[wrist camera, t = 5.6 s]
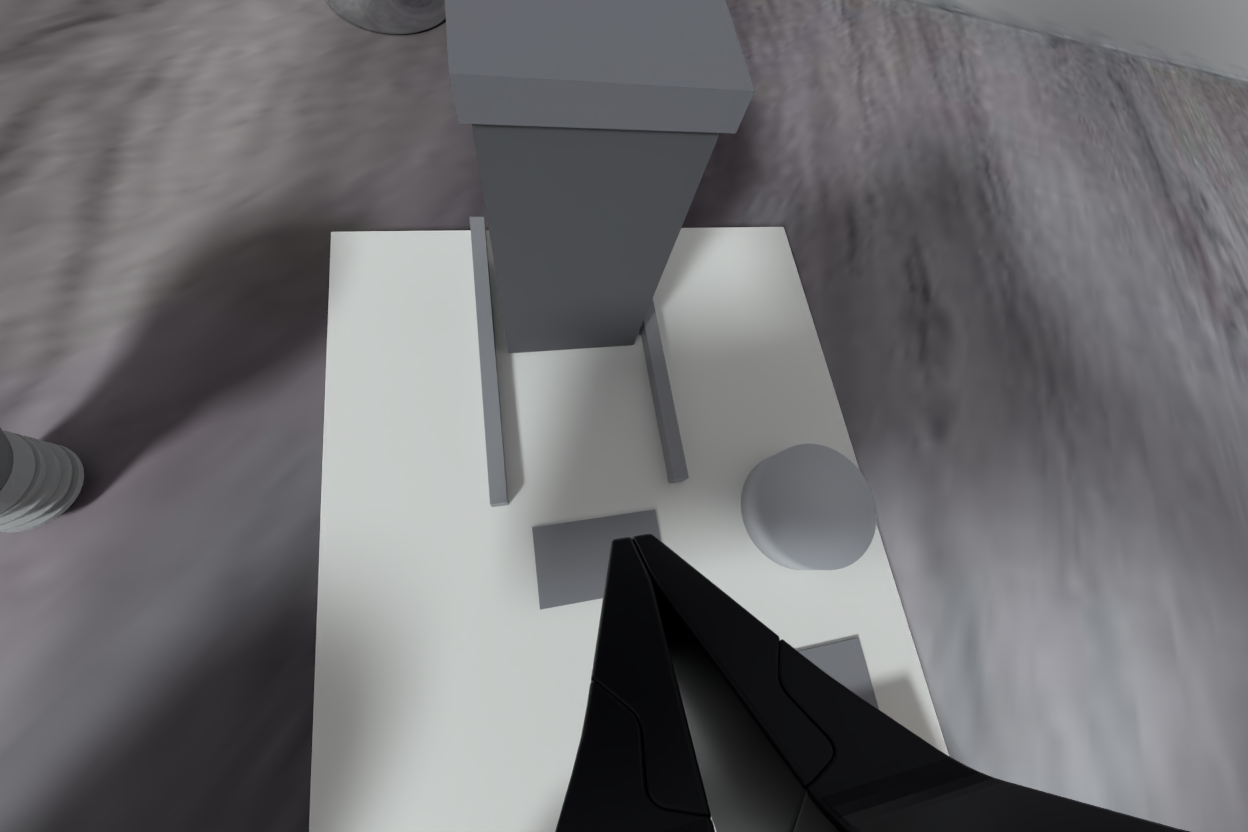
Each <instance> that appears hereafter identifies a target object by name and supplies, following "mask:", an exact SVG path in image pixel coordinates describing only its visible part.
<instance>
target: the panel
mask: <svg viewBox="0 0 1248 832" xmlns="http://www.w3.org/2000/svg"><path fill="white" fill-rule="evenodd" d="M470 228H471V230H452V231H361V232H331V248H330V275H329V302H328V329H327V356H326V384H325V411H324V438H323V465H322V492H321V519H320V546H319V573H318V600H317V627H316V654H315V681H314V708H313V735H312V762H311V789H310V816H309V832H555V830H556V827H557V823H558V820H559V816H560V813H561V809H562V806H563V802H564V799H565V795H566V792H567V788H568V784H569V781H570V777H571V774H572V770H573V766H574V762H575V758H576V754H577V750H578V746H579V742H580V739H581V734H582V728H583V723H584V718H585V712H586V707H587V701H588V694H589V687H590V683H591V675H592V669H593V662H594V655H595V648H596V642H597V635H598V628H599V621H600V615H601V608H602V601H603V594H604V588H605V581H606V574H607V568H608V561H609V554H610V547H611V542H612V540H613V539H617V538H624V537H630V538H633V537H634V536H636V535H643V534H652V535H654V536H655V537H656V538H658V539H659V540H660V541H661V542H663V543H664V544H665V545H666V546H668V547H669V548H670V549H671V550H673V551H674V552H675V553H676V554H678V555H679V556H680V557H681V558H682V559H684V560H685V561H686V562H687V563H689V564H690V565H691V566H692V567H694V568H695V569H696V570H697V571H699V572H700V573H701V574H702V575H704V576H705V577H706V578H707V579H709V580H710V581H711V582H712V583H714V584H715V585H716V586H717V587H718V588H720V589H721V590H722V591H723V592H725V593H726V594H727V595H728V596H730V597H731V598H732V599H733V600H735V601H736V602H737V603H738V604H740V605H741V606H742V607H743V608H745V609H746V610H747V611H748V612H749V613H751V614H752V615H753V616H754V617H756V618H757V619H758V620H759V621H761V622H762V623H763V624H764V625H766V626H767V627H768V628H769V629H771V630H772V631H773V632H774V633H776V634H777V635H778V636H779V638H780V640H781V639H783V640H784V641H786V642H787V643H788V644H789V645H791V646H792V647H793V648H794V649H796V650H797V651H798V652H799V653H801V654H802V655H803V656H805V657H806V658H807V659H808V660H810V661H811V662H812V663H814V664H815V665H816V666H818V667H819V668H820V669H821V670H823V671H824V672H825V673H827V674H828V675H830V676H831V677H832V678H834V679H835V680H837V681H838V682H839V683H841V684H842V685H844V686H845V687H847V688H848V689H849V690H851V691H852V692H854V693H855V694H857V695H858V696H859V697H861V698H862V699H864V700H865V701H867V702H868V703H870V704H871V705H873V706H874V707H876V708H877V709H879V710H880V711H882V712H883V713H885V714H886V715H888V716H889V717H891V718H892V719H894V720H895V721H897V722H898V723H899V724H901V725H902V726H904V727H905V728H907V729H908V730H910V731H911V732H913V733H914V734H916V735H917V736H919V737H920V738H922V739H923V740H925V741H926V742H928V743H929V744H931V745H932V746H934V747H935V748H937V749H938V750H940V751H941V752H943V753H945V754H946V755H948V756H949V754H948V751H947V748H946V744H945V741H944V738H943V735H942V732H941V728H940V725H939V722H938V719H937V716H936V712H935V709H934V706H933V703H932V700H931V697H930V693H929V690H928V687H927V684H926V681H925V677H924V674H923V671H922V668H921V665H920V661H919V658H918V655H917V652H916V649H915V645H914V642H913V639H912V636H911V633H910V629H909V626H908V623H907V620H906V617H905V613H904V610H903V607H902V604H901V601H900V597H899V594H898V591H897V588H896V585H895V581H894V578H893V575H892V572H891V569H890V565H889V562H888V559H887V556H886V553H885V549H884V546H883V543H882V540H881V537H880V534H879V530H878V527H877V524H876V507H875V502H874V498H873V494H872V492H871V489H870V487H869V485H868V483H867V481H866V479H865V478H864V476H863V475H862V473H861V472H860V470H859V466H858V463H857V460H856V457H855V454H854V450H853V447H852V444H851V441H850V438H849V434H848V431H847V428H846V425H845V422H844V418H843V415H842V412H841V409H840V406H839V402H838V399H837V396H836V393H835V390H834V386H833V383H832V380H831V377H830V374H829V371H828V367H827V364H826V361H825V358H824V355H823V351H822V348H821V345H820V342H819V339H818V335H817V332H816V329H815V326H814V323H813V319H812V316H811V313H810V310H809V307H808V303H807V300H806V297H805V294H804V291H803V287H802V284H801V281H800V278H799V275H798V271H797V268H796V265H795V262H794V259H793V255H792V252H791V249H790V246H789V243H788V239H787V236H786V233H785V230H784V227H725V228H681V230H680V232H679V235H678V237H677V240H676V242H675V245H674V247H673V249H672V252H671V254H670V257H669V259H668V262H667V264H666V267H665V269H664V271H663V274H662V276H661V279H660V281H659V284H658V286H657V289H656V291H655V293H654V296H653V298H652V301H651V303H650V306H649V308H648V310H647V313H646V315H645V318H644V320H643V323H642V325H641V328H640V330H639V332H638V335H637V337H636V340H635V342H634V345H628V346H613V347H598V348H583V349H568V350H553V351H538V352H523V353H508V349H507V342H506V336H505V330H504V323H503V317H502V311H501V304H500V298H499V291H498V285H497V279H496V272H495V266H494V260H493V253H492V247H491V241H490V234H489V230H486V227H485V221H484V217H470ZM711 820H712V818H711ZM712 822H713V821H712ZM713 825H714V823H713ZM714 829H715V826H714ZM715 832H717V831H716V829H715Z"/></svg>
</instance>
